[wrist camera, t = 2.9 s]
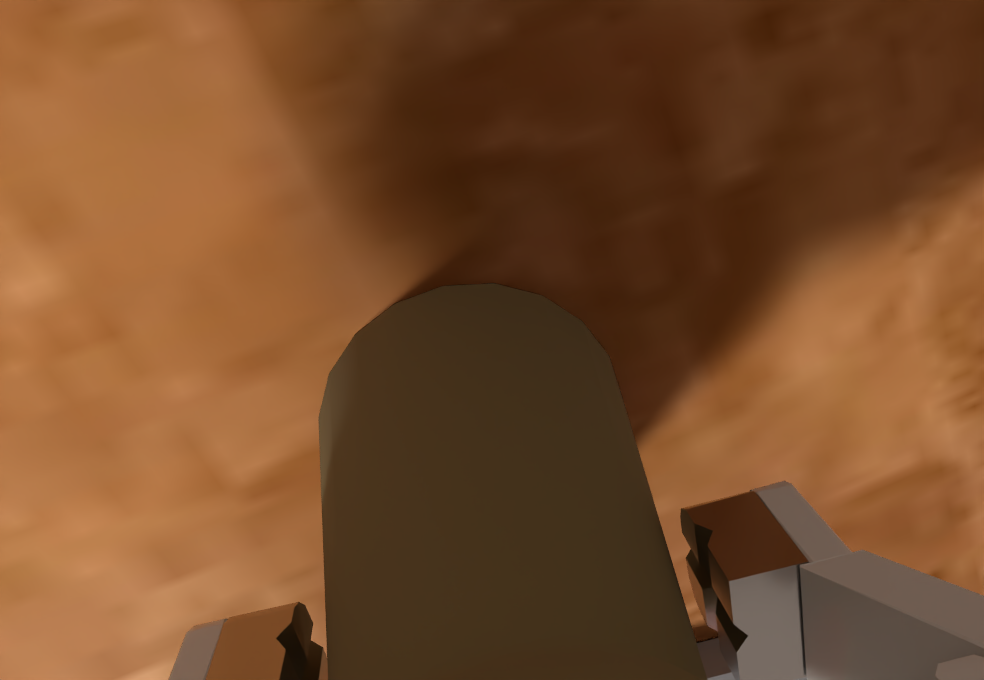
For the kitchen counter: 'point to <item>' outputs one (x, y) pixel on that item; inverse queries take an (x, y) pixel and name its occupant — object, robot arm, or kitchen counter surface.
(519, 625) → the olive knobbed peg
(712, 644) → the notch board
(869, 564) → the robot arm
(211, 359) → the kitchen counter surface
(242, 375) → the kitchen counter surface
